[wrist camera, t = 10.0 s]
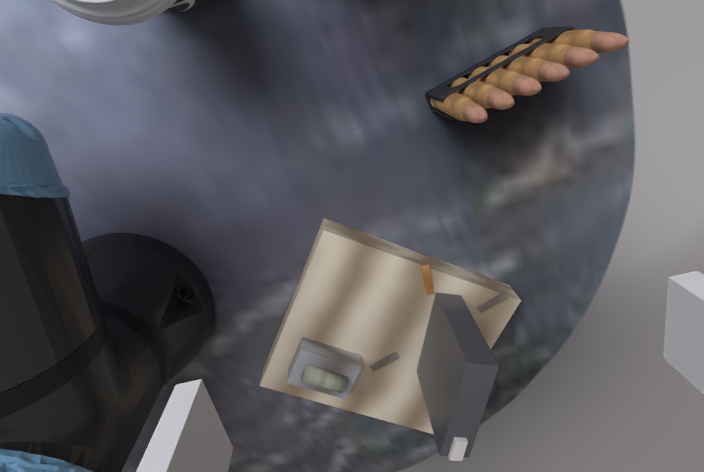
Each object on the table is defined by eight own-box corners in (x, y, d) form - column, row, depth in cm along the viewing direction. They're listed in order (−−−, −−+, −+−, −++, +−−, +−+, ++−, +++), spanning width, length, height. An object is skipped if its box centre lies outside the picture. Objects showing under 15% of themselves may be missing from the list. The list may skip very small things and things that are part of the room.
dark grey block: (435, 292, 41) (468, 366, 31) (461, 295, 41) (501, 369, 32) (416, 371, 44) (440, 459, 35) (439, 373, 45) (470, 461, 35)
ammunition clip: (433, 113, 38) (476, 139, 27) (424, 93, 37) (464, 111, 26) (551, 49, 37) (648, 48, 26) (544, 27, 36) (639, 17, 25)
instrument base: (263, 366, 47) (254, 410, 42) (325, 214, 41) (324, 241, 35) (431, 414, 51) (444, 461, 45) (511, 282, 45) (538, 317, 39)
